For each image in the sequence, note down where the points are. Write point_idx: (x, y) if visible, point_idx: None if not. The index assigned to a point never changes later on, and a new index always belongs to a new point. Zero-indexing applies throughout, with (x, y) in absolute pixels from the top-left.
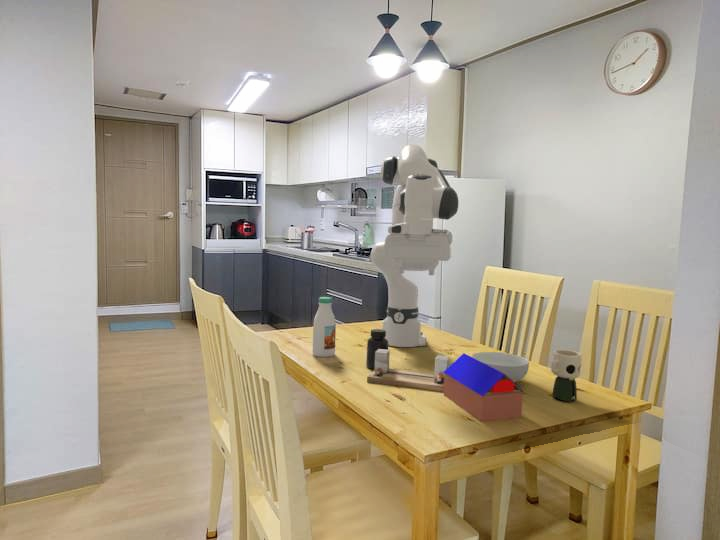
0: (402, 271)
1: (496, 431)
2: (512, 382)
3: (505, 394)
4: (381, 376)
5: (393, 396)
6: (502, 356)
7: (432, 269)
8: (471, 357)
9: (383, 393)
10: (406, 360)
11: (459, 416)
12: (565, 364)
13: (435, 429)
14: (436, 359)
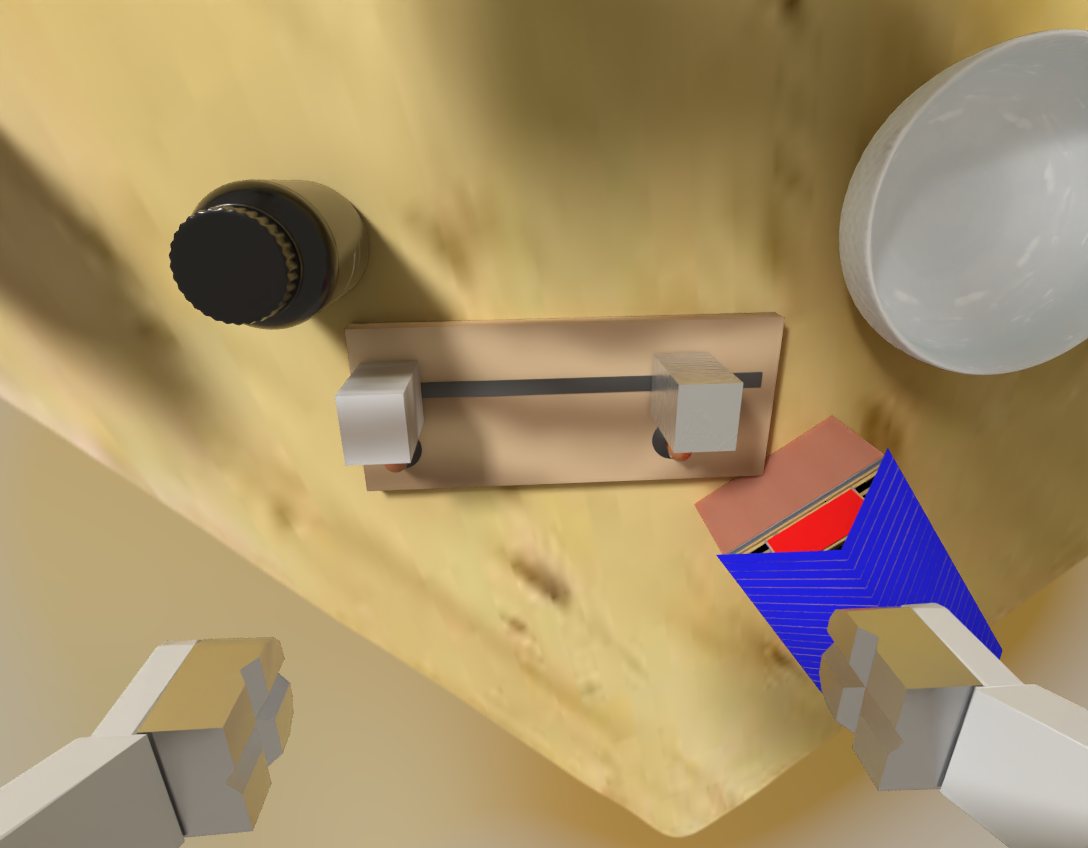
0: (280, 754)
1: None
2: None
3: None
4: (421, 463)
5: (523, 584)
6: (1062, 49)
7: (961, 790)
8: (872, 599)
9: (480, 571)
10: (416, 2)
11: (751, 652)
12: None
13: (691, 746)
14: (679, 450)
